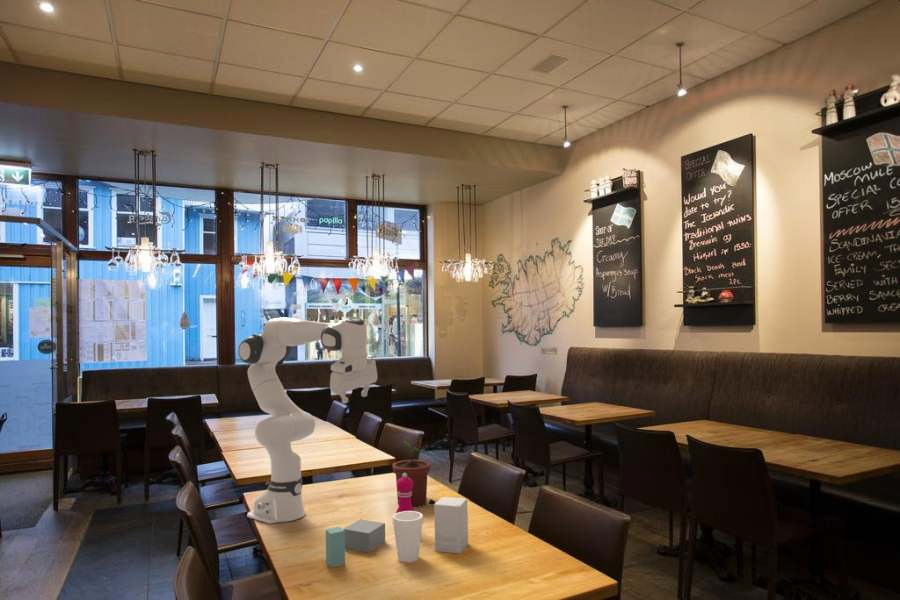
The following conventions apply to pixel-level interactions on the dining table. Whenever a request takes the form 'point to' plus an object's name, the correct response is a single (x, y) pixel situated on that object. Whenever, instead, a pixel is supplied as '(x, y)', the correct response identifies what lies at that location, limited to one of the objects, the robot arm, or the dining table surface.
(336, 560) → the block
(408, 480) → the pepper mill
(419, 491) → the potted plant
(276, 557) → the dining table surface
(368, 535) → the pedestal
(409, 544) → the foam cup
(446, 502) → the supplement box
